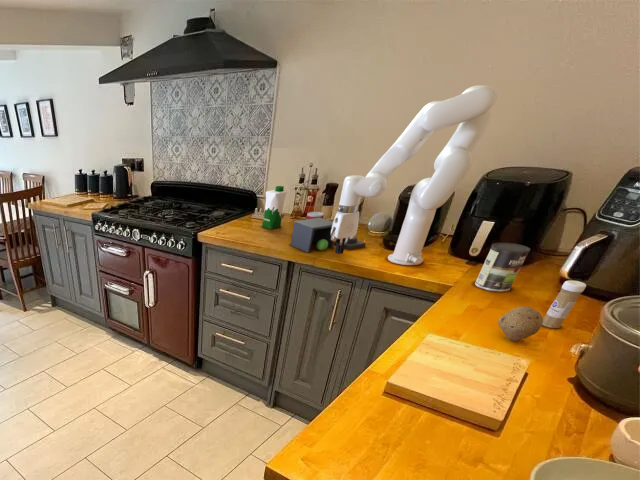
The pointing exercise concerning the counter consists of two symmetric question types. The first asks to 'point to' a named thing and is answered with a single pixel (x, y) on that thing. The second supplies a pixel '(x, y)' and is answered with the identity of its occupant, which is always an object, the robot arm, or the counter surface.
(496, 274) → the coffee can
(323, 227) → the cubby
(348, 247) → the button housing
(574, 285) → the sprinkles bottle
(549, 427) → the counter surface
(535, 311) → the potato
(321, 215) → the canned food
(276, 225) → the milk carton
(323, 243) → the ball
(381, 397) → the counter surface
